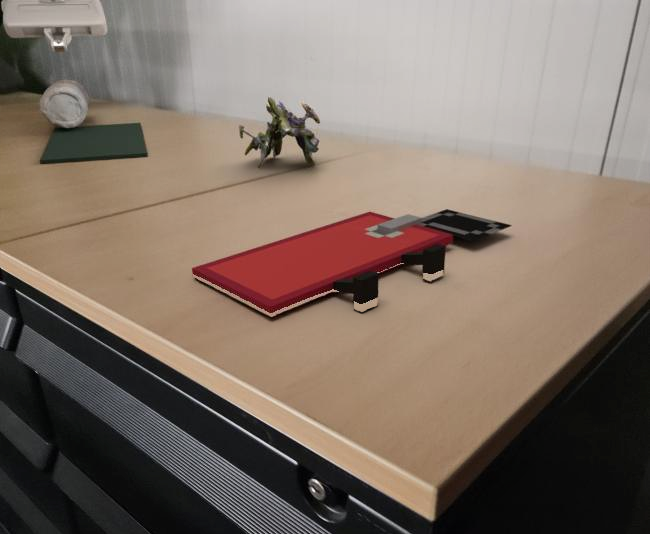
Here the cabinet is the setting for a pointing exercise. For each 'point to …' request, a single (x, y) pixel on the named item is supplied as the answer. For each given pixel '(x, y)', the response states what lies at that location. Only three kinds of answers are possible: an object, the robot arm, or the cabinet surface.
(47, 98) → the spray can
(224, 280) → the red board with handle
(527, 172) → the cabinet surface
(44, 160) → the mat
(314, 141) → the toy creature figure
